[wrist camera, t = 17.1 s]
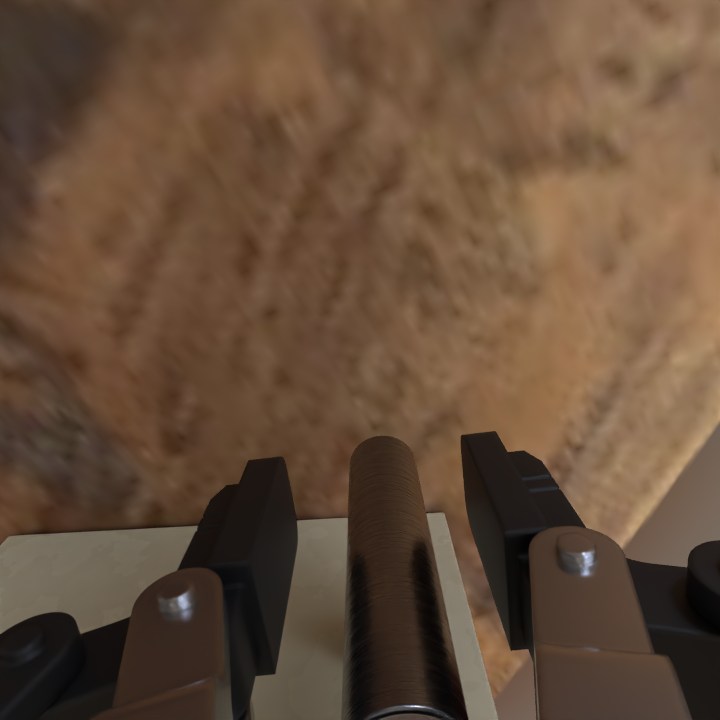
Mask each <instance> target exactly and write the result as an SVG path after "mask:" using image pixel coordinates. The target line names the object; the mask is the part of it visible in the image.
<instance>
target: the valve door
mask: <svg viewBox="0 0 720 720" xmlns="http://www.w3.org/2000/svg"><path fill="white" fill-rule="evenodd" d="M197 527H198V526H184V527H166V528H147V529H129V530H110V531H92V532H73V533H55V534H36V535H18V536H9V537H8V538H7V539H6V540H5V541H4V542H3V543H2V544H1V545H0V634H1V633H3V632H4V631H6V630H7V629H9V628H10V627H12V626H14V625H16V624H17V623H19V622H22V621H24V620H26V619H28V618H31V617H34V616H37V615H40V614H44V613H50V612H64V613H67V614H70V615H71V616H73V617H74V619H75V620H76V623H77V625H78V628H79V631H80V634H82V633H85V632H88V631H91V630H94V629H97V628H100V627H103V626H106V625H109V624H112V623H114V622H117V621H120V620H123V619H125V618H128V617H130V616H131V612H132V608H133V605H134V603H135V601H136V600H137V598H138V597H139V595H140V594H141V593H142V592H143V591H144V590H145V589H146V588H147V587H148V586H150V585H151V584H152V583H154V582H155V581H157V580H158V579H160V578H162V577H163V576H165V575H168V574H170V573H172V572H175V571H177V569H178V567H179V565H180V563H181V561H182V559H183V557H184V554H185V552H186V550H187V548H188V546H189V544H190V542H191V540H192V538H193V536H194V534H195V531H197ZM297 527H298V546H297V552H296V558H295V564H294V570H293V575H292V581H291V587H290V593H289V599H288V604H287V610H286V616H285V622H284V627H283V633H282V639H281V645H280V651H279V656H278V662H277V668H276V674H273V675H264V676H256V677H255V682H254V686H253V691H252V696H251V699H252V703H253V707H254V713H255V720H499V719H498V715H497V712H496V708H495V704H494V700H493V696H492V693H491V689H490V685H489V681H488V677H487V674H486V670H485V666H484V662H483V658H482V654H481V651H480V647H479V643H478V639H477V635H476V632H475V628H474V624H473V620H472V616H471V613H470V609H469V605H468V601H467V597H466V593H465V590H464V586H463V582H462V578H461V574H460V571H459V567H458V563H457V559H456V555H455V552H454V548H453V544H452V540H451V536H450V533H449V529H448V525H447V521H446V517H445V514H444V513H426V510H425V505H424V500H423V496H422V491H421V486H420V481H419V476H418V471H417V466H416V462H415V457H414V455H413V452H412V451H411V449H410V448H409V447H408V446H407V445H406V444H405V443H404V442H402V441H401V440H399V439H397V438H394V437H390V436H376V437H372V438H369V439H367V440H365V441H364V442H362V443H361V444H360V445H359V446H358V447H357V448H356V449H355V451H354V452H353V454H352V456H351V460H350V473H349V503H348V518H332V519H314V520H297Z"/></svg>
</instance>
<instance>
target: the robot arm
mask: <svg viewBox="0 0 720 720" xmlns="http://www.w3.org/2000/svg"><path fill="white" fill-rule="evenodd" d="M461 454H462V466H463V478H464V491H465V501H466V509H467V514H468V519H469V524H470V527H471V531H472V534H473V537H474V540H475V543H476V546H477V549H478V552H479V555H480V558H481V561H482V564H483V567H484V570H485V573H486V576H487V579H488V582H489V585H490V588H491V591H492V594H493V598H494V601H495V604H496V607H497V610H498V613H499V616H500V619H501V622H502V625H503V628H504V631H505V634H506V637H507V640H508V643H509V646H510V649H511V651H512V650H521V649H529V652H530V655H531V657H532V660H533V663H534V686H535V704H536V720H720V540H719V541H710V542H706V543H703V544H701V545H698V546H696V547H695V548H694V549H693V550H692V551H691V552H690V554H689V557H688V566H687V568H686V567H677V566H668V565H659V564H650V563H644V562H639V561H635V560H631V559H628V558H626V557H625V554H624V552H623V550H622V549H621V548H620V546H619V545H618V544H617V543H616V542H615V541H613V540H612V539H611V538H609V537H608V536H606V535H604V534H602V533H600V532H597V531H595V530H592V529H588V528H586V527H585V525H584V524H583V522H582V521H581V519H580V518H579V516H578V515H577V513H576V512H575V510H574V509H573V507H572V506H571V504H570V503H569V501H568V500H567V498H566V497H565V495H564V494H563V492H562V491H561V490H559V486H558V485H557V483H556V482H555V480H554V479H553V478H551V474H550V473H549V471H548V470H547V468H546V467H545V465H544V464H543V463H542V461H540V460H539V459H537V458H535V457H534V456H532V455H530V454H529V453H527V452H525V451H515V452H507V450H506V449H505V447H504V445H503V443H502V442H501V440H500V438H499V436H498V434H497V433H496V432H495V431H492V432H484V433H475V434H467V435H461ZM297 546H298V527H297V519H296V513H295V508H294V503H293V498H292V493H291V487H290V482H289V477H288V472H287V467H286V463H285V460H284V458H283V457H282V456H281V457H272V458H264V459H256V460H249V461H248V463H247V465H246V467H245V470H244V472H243V475H242V477H241V480H240V482H239V484H233V485H226V486H225V487H224V488H223V489H222V490H221V491H220V492H219V493H217V494H216V495H215V496H214V497H213V498H212V499H211V500H210V502H209V504H208V506H207V508H206V511H205V513H204V515H203V518H202V519H201V521H200V523H199V525H198V527H197V531H195V534H194V536H193V538H192V540H191V542H190V544H189V546H188V548H187V550H186V552H185V554H184V557H183V559H182V561H181V563H180V565H179V567H178V569H177V571H175V572H172V573H170V574H168V575H165V576H163V577H162V578H160V579H158V580H157V581H155V582H154V583H152V584H151V585H150V586H148V587H147V588H146V589H145V590H144V591H143V592H142V593H141V594H140V595H139V597H138V598H137V600H136V601H135V603H134V605H133V608H132V612H131V616H130V617H128V618H125V619H123V620H120V621H117V622H114V623H112V624H109V625H106V626H103V627H100V628H97V629H94V630H91V631H88V632H85V633H82V634H80V631H79V628H78V625H77V623H76V620H75V619H74V617H73V616H71V615H70V614H67V613H64V612H50V613H44V614H40V615H37V616H34V617H31V618H28V619H26V620H24V621H22V622H19V623H17V624H16V625H14V626H12V627H10V628H9V629H7V630H6V631H4V632H3V633H1V634H0V720H255V713H254V707H253V703H252V699H251V696H252V691H253V686H254V682H255V677H256V676H264V675H273V674H276V668H277V662H278V656H279V651H280V645H281V639H282V633H283V627H284V622H285V616H286V610H287V604H288V599H289V593H290V587H291V581H292V575H293V570H294V564H295V558H296V552H297Z"/></svg>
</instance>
